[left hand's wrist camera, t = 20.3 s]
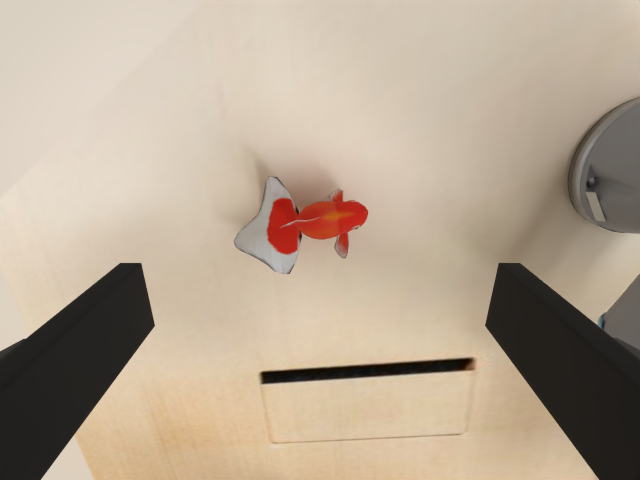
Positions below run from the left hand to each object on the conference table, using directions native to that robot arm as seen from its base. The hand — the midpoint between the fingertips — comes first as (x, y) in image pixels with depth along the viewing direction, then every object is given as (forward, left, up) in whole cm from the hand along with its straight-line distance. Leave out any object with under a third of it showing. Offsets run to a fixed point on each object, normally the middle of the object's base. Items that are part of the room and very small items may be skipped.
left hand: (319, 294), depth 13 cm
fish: (+7, +1, -29) cm, 30 cm away
